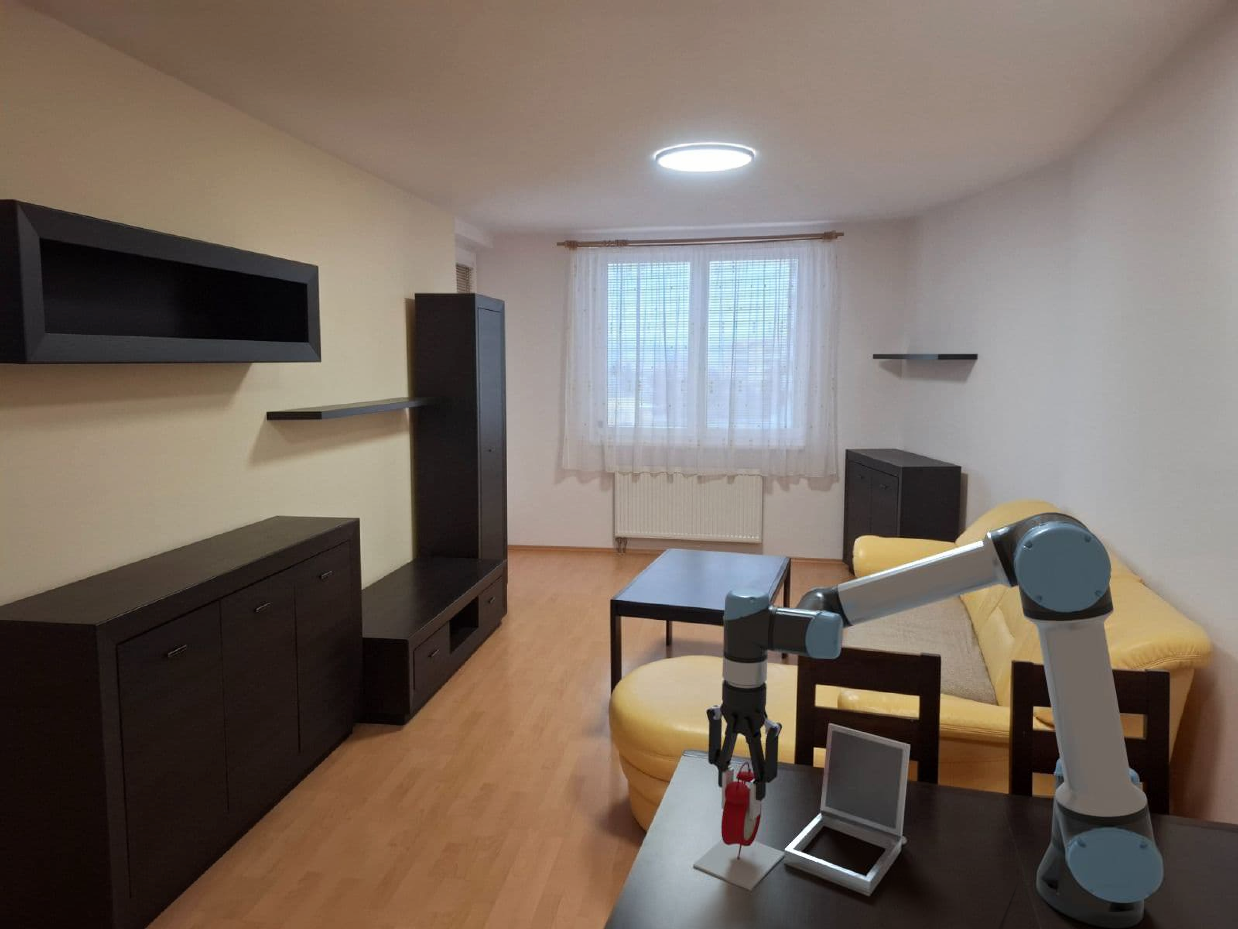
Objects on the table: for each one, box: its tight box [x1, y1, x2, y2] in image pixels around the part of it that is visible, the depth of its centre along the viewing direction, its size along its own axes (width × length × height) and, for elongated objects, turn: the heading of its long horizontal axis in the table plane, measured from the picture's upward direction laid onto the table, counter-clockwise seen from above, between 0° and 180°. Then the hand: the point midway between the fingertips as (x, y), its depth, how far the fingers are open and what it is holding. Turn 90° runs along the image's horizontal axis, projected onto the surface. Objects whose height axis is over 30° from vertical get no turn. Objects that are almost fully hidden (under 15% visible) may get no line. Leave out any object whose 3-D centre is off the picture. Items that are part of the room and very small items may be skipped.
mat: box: [692, 839, 784, 892], centre depth 141 cm, size 11×13×1 cm
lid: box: [820, 722, 911, 836], centre depth 149 cm, size 15×16×1 cm
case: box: [783, 809, 902, 897], centre depth 143 cm, size 15×16×3 cm
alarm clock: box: [720, 761, 763, 860], centre depth 141 cm, size 10×6×15 cm, turn 151°
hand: (740, 810), depth 141 cm, fingers closed on alarm clock, 5 cm apart
